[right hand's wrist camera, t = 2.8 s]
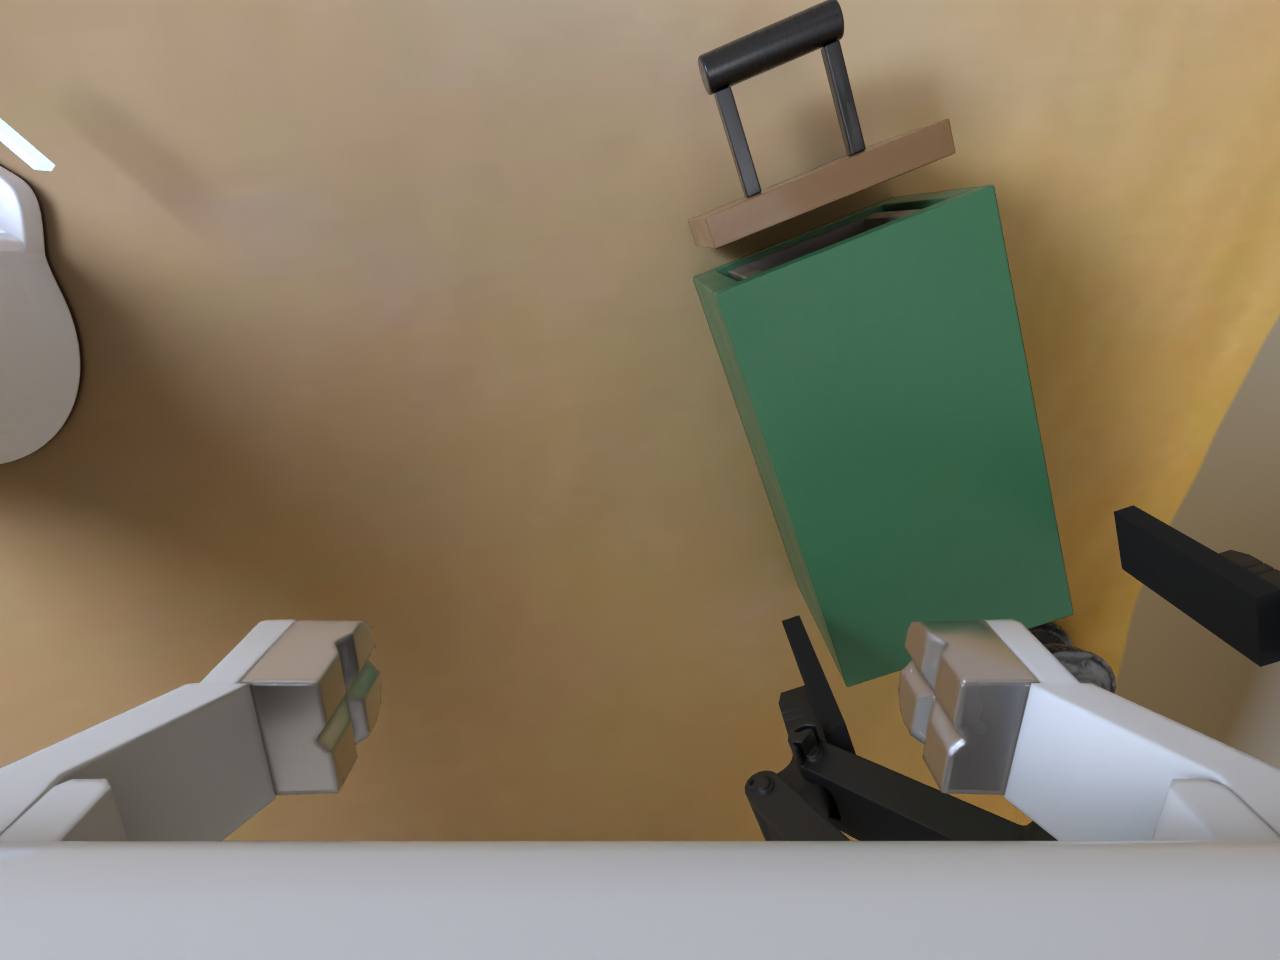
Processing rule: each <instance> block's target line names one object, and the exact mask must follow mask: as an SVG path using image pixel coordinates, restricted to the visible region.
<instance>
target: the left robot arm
mask: <svg viewBox="0 0 1280 960" xmlns="http://www.w3.org/2000/svg"><path fill="white" fill-rule="evenodd" d="M1114 516H1115V523H1116V530H1117V536H1118V543H1119V550H1120V557H1121V564H1122V569H1123V570H1125V571H1126V572H1128V573H1129V574H1130V575H1132V576H1133V577H1135V578H1136V579H1137V580H1139V581H1140V582H1142V583H1143V584H1144V585H1146V586H1147V587H1149V588H1150V589H1151V590H1153V591H1154V592H1156V593H1157V594H1159V595H1160V596H1161V597H1163V598H1164V599H1166V600H1167V601H1168V602H1170V603H1171V604H1173V605H1174V606H1175V607H1177V608H1178V609H1180V610H1181V611H1182V612H1184V613H1185V614H1187V615H1188V616H1190V617H1191V618H1192V619H1194V620H1195V621H1197V622H1198V623H1199V624H1201V625H1202V626H1204V627H1205V628H1207V629H1208V630H1209V631H1211V632H1212V633H1213V634H1215V635H1216V636H1218V637H1219V638H1221V639H1222V640H1223V641H1225V642H1226V643H1228V644H1229V645H1230V646H1232V647H1233V648H1235V649H1236V650H1237V651H1239V652H1240V653H1242V654H1243V655H1245V656H1246V657H1247V658H1249V659H1250V660H1252V661H1253V662H1254V663H1256V664H1257V665H1259V666H1260V667H1261V666H1265V665H1268V664H1271V663H1275V662H1278V661H1280V571H1278V570H1276V569H1275V570H1274V569H1273V567H1271V566H1269V565H1267V564H1263V562H1262V561H1260V560H1258V559H1256V558H1254V557H1252V556H1251V555H1249V554H1245V553H1241V552H1237V551H1233V550H1229V551H1226V552H1222V553H1219V554H1218V553H1216V552H1215V551H1213V550H1211V549H1209V548H1207V547H1206V546H1204V545H1202V544H1200V543H1199V542H1197V541H1195V540H1193V539H1192V538H1190V537H1188V536H1186V535H1185V534H1183V533H1181V532H1179V531H1178V530H1176V529H1174V528H1172V527H1170V526H1169V525H1167V524H1165V523H1163V522H1162V521H1160V520H1158V519H1156V518H1155V517H1153V516H1151V515H1149V514H1148V513H1146V512H1144V511H1142V510H1141V509H1139V508H1137V507H1135V506H1134V505H1133V506H1130V507H1127V508H1124V509H1121V510H1118V511H1115V512H1114ZM782 623H783V626H784V628H785V631H786V634H787V637H788V640H789V642H790V645H791V648H792V651H793V653H794V656H795V659H796V662H797V665H798V667H799V670H800V673H801V676H802V678H803V681H804V684H805V686H801V687H798V688H795V689H792V690H789V691H786V692H782V693H781V696H780V700H779V706H780V709H781V712H782V716H783V719H784V722H785V725H786V729H787V732H788V742H789V745H790V747H791V750H792V753H793V758H792V760H791V762H790V764H789V765H788V766H787V767H786V768H785V769H784V770H782V771H781V772H779V773H778V774H776V773H774V772H772V771H762V772H758V773H756V774H754V775H752V776H751V777H750V779H749V780H748V781H747V783H746V786H745V793H746V795H747V798H748V800H749V802H750V805H751V807H752V810H753V812H754V814H755V817H756V819H757V821H758V824H759V826H760V828H761V831H762V833H763V835H764V838H765V840H766V841H851V840H849V839H848V838H847V837H846V836H845V835H844V834H843V833H842V832H844V833H846V834H848V835H850V836H852V837H853V838H855V839H857V840H859V841H1058V840H1057V839H1055V838H1054V837H1053V836H1052V835H1050V834H1049V833H1048V832H1047V831H1045V830H1044V829H1043V828H1042V827H1040V826H1039V825H1038V824H1037V823H1035V822H1034V821H1032V822H1031V823H1029V824H1028V825H1026V826H1022V825H1019V824H1016V823H1014V822H1011V821H1009V820H1007V819H1004V818H1002V817H1000V816H997V815H995V814H993V813H990V812H988V811H986V810H983V809H981V808H979V807H976V806H974V805H972V804H969V803H967V802H965V801H962V800H960V799H958V798H955V797H953V796H951V795H948V794H946V793H942V792H941V791H939V790H937V789H934V788H932V787H930V786H927V785H925V784H923V783H920V782H918V781H916V780H913V779H911V778H909V777H906V776H904V775H902V774H899V773H897V772H895V771H892V770H890V769H888V768H885V767H883V766H881V765H878V764H876V763H874V762H871V761H869V760H867V759H864V758H862V757H860V756H857V755H856V754H855V751H854V748H853V745H852V742H851V739H850V736H849V733H848V730H847V727H846V724H845V722H844V719H843V717H842V715H841V712H840V710H839V708H838V705H837V703H836V701H835V698H834V696H833V694H832V691H831V689H830V687H829V684H828V682H827V680H826V677H825V675H824V672H823V670H822V668H821V665H820V663H819V661H818V658H817V656H816V654H815V651H814V649H813V647H812V644H811V642H810V640H809V637H808V635H807V633H806V630H805V628H804V626H803V623H802V621H801V618H800V616H796V617H793V618H789V619H786V620H783V621H782ZM838 829H839V830H838ZM841 831H842V832H841Z"/></svg>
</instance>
